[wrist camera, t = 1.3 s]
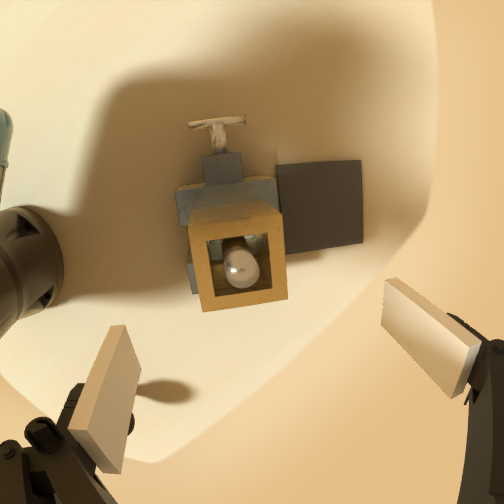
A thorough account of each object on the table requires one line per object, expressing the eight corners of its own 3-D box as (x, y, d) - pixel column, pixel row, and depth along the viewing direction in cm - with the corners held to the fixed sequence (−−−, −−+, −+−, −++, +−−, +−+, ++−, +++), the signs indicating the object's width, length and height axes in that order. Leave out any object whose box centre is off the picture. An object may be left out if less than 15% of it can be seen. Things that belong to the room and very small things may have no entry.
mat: (283, 253, 38) (284, 254, 38) (276, 165, 35) (277, 165, 34) (361, 241, 40) (363, 242, 39) (358, 160, 36) (360, 160, 35)
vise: (194, 273, 38) (188, 345, 23) (172, 127, 32) (146, 105, 17) (272, 262, 39) (311, 325, 24) (258, 117, 33) (296, 89, 18)
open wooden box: (203, 275, 31) (202, 312, 24) (192, 209, 29) (187, 227, 22) (269, 265, 32) (288, 299, 25) (262, 199, 30) (282, 214, 22)
